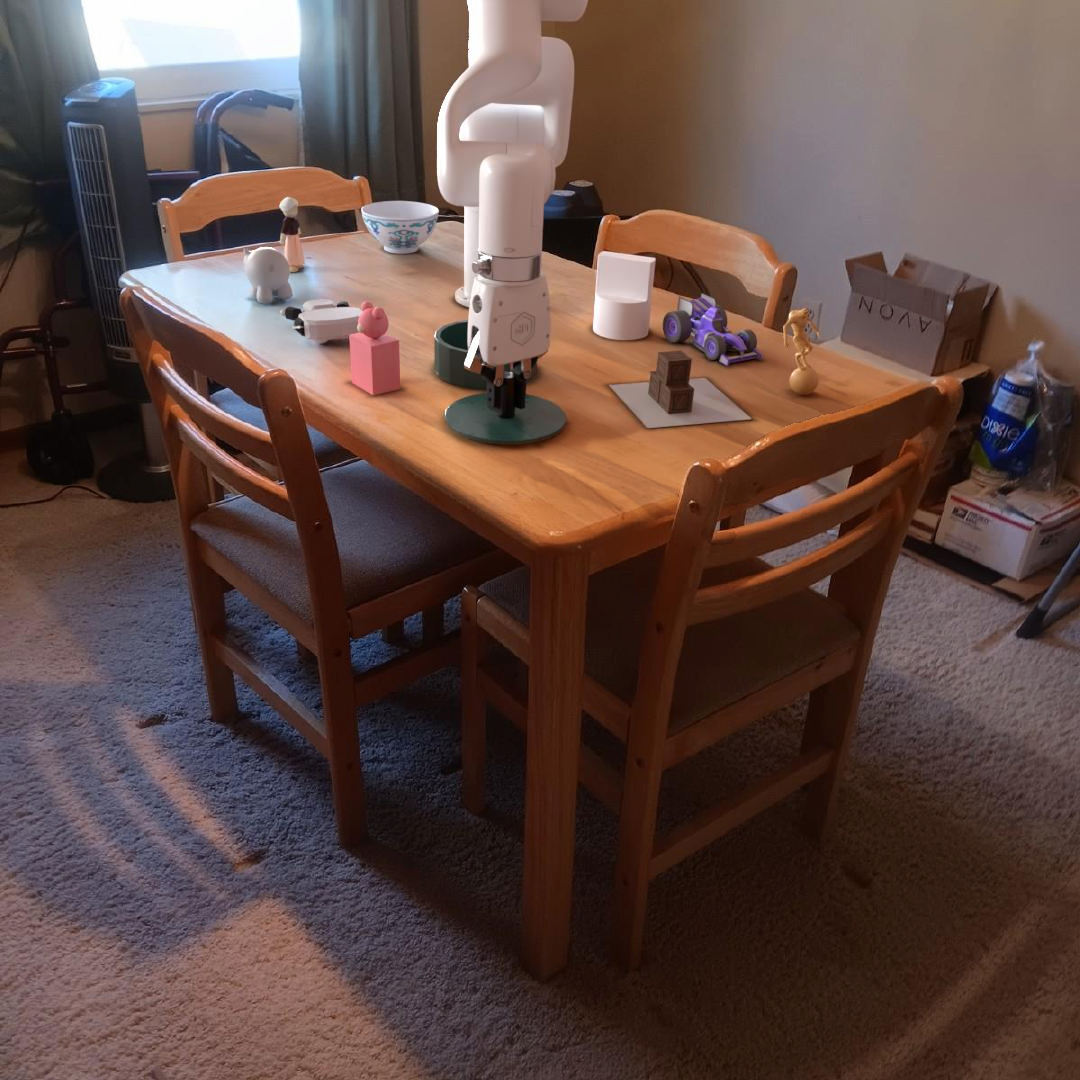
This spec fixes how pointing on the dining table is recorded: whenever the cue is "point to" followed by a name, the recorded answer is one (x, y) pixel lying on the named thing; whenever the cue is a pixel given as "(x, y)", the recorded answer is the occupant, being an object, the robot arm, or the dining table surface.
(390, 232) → the chinaware
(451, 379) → the pot
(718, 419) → the stack of crates
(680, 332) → the toy race car
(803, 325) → the figurine
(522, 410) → the pot lid
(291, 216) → the grandmother figurine
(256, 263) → the toy rhinoceros
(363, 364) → the pink bear head stamp
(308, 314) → the robot toy
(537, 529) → the dining table surface
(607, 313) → the cylinder with rectangular tab
